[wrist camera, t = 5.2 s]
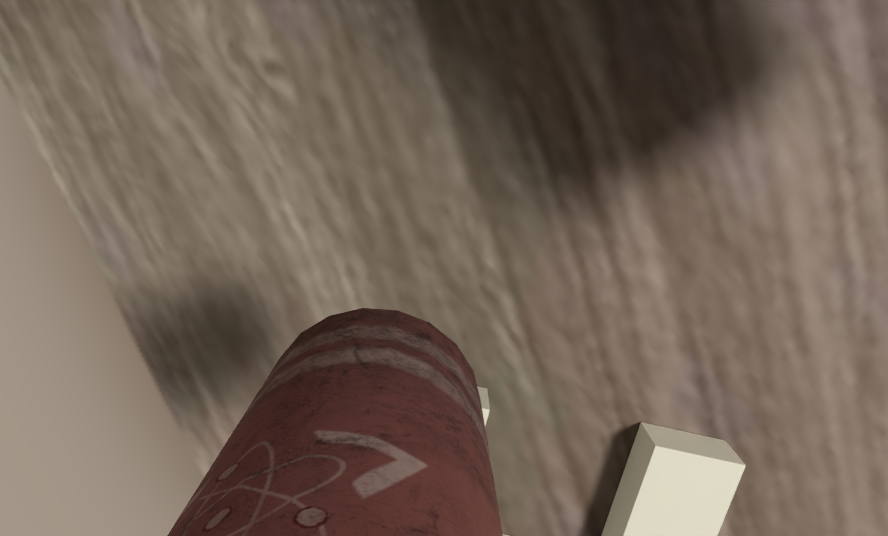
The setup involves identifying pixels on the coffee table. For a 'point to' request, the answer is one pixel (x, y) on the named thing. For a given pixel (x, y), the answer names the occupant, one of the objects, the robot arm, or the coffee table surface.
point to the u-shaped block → (670, 483)
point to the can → (356, 440)
